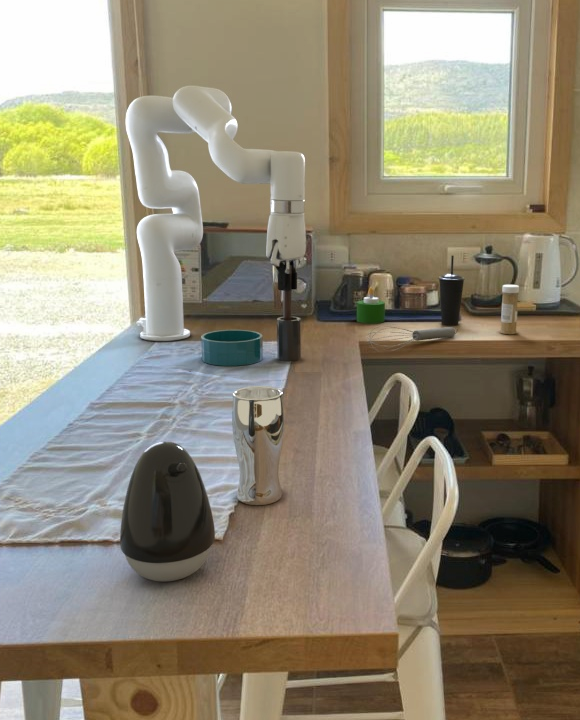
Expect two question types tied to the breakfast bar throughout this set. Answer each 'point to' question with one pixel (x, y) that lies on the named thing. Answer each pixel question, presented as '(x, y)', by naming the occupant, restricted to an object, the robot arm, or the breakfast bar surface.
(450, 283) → the drinking cup
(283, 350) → the crock
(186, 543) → the black egg-shaped body
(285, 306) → the wooden muddler
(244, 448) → the beer glass
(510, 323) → the sprinkles bottle
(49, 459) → the breakfast bar surface
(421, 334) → the kitchen whisk
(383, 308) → the candle
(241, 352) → the bowl
